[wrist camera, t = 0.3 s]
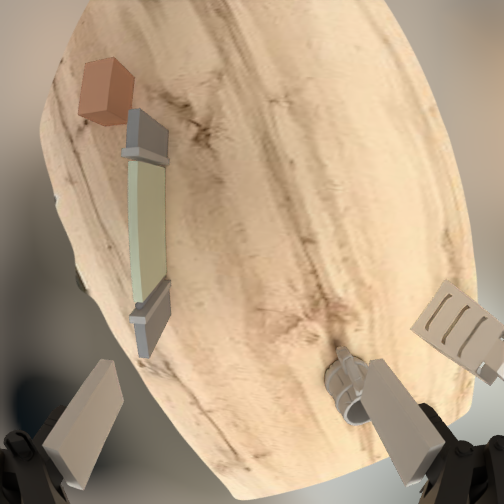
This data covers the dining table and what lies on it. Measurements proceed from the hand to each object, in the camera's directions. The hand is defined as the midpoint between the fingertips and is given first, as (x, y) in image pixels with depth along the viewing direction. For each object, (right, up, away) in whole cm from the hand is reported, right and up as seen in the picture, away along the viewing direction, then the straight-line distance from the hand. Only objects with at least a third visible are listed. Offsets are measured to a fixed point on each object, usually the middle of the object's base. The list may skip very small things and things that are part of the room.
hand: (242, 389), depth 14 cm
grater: (+34, -5, +30) cm, 46 cm away
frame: (-11, +11, +25) cm, 29 cm away
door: (-12, +10, +24) cm, 29 cm away
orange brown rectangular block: (-18, +28, +21) cm, 39 cm away
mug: (+15, -11, +31) cm, 36 cm away
